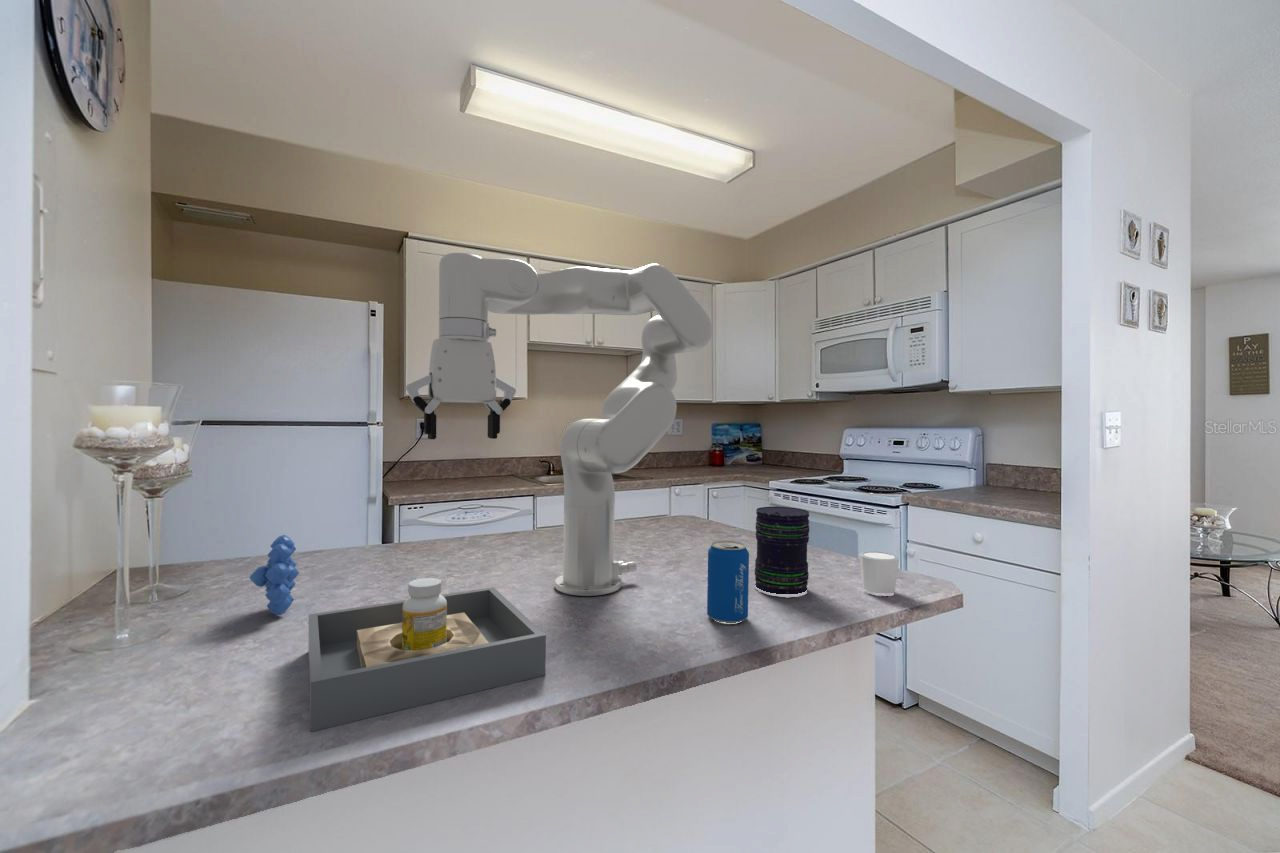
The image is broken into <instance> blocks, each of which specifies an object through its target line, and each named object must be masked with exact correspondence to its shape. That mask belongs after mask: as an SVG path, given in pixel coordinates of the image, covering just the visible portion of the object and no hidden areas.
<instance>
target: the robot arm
mask: <svg viewBox="0 0 1280 853" xmlns="http://www.w3.org/2000/svg"><path fill="white" fill-rule="evenodd" d="M438 270H439V271H438V338H436V339H433V341H432V344H431V345H432V346H431V351H430V358H429V368H428V375H426V376H424V377H422V378H419V379H417V380H415V381H413V382H411V383H408V384H407V385H405V390H406V391H407V394H408V396H409V397H410V399H411V402H412V403H413V404H414V405H415V406H416V407H417V408H418V409H419V410H420V411H421V412H422V413H423V432H424V435H427V439H428V440H436V439H437V414H436V413H435V409H437V408H438V407H439V405H440V404H441V403H455V404H458V403H462V404H466V403H467V404H469V403H470V404H480V403H481V404H484V406H486V408H487V409H488V410H489V413H488V415H487V438H488V439H493V440H494V439H495V440H496V439H498V434H500V432H501V415H502V414H503V412H504V411H506V409H507V408H508V407H509V406H510V405H511V403H512V402H511V401H512V400H513V399H514V397H515V395H516V393H517V390H516V388H515V387H513V386H511V385H509V384H507V383H506V382H504V381H503V380H500V379H499V378H497V372H496V362H495V356H494V350H493V345H492V342H490V341H488V340H489V338H491V337H493V338H495V337H496V336H497V329H496V328H492V327H490V323H488V322H489V320H488V318H489V316H488V313H494V314H499V315H501V314H502V315H582V314H583V315H584V314H585V315H612V316H613V315H614V316H638V315H642V314H647V313H651V312H654V311H655V312H656V313H657V314H658V315H655V316H652V318H650V319H649V320H648V321H647V322H645V325H644V327H643V329H642V332H641V347H642V348H641V349H642V357H641V362H640V363H639V365H638V366H637V367H636V368H635V369H634V370H633V371H632V372H631V373H630V374H629V375H628V376H627V377H626V378H625V379H624V380H622V381H621V383H620V384H619V385H617V386H616V387H615V388H614V389H613V390H612V391H611V392H610V393H609V394H608V395H607V397H606V398H605V400H604V401H603V403H602V404H603V405H602V409H601V415H602V417H603V418H582V419H579V420H575V421H574V422H572V423H571V424H569V425H568V426H567V427H566V428H565V430H564V431H563V433H562V436H561V439H560V446H559V447H560V448H559V449H560V450H559V451H560V452H559V453H560V459H561V466H562V473H563V491H564V492H563V493H564V494H563V495H564V496H563V499H564V500H563V548H562V549H563V551H562V555H563V556H562V557H563V560H562V563H563V564H562V567H563V568H562V575H560V576H558V577H556V578H555V580H554V588H555V590H557V591H558V592H560V593H563V594H566V595H571V596H579V597H580V596H581V597H594V596H604V595H608V594H609V595H610V594H612V593H615V592H616V591H618V590H619V589H621V588H622V585H623V584H622V583H623V581H622V578H621V577H620V576H622V575H623V573H634V572H636V571H637V564H636V562H635V561H629V562H624V561H623V560H618V561H617V560H615V507H616V506H615V505H616V502H615V501H616V492H615V484H614V478H613V476H612V474H622V473H625V472H627V471H629V470H631V469H632V468H633V467H635V466H636V465H637V464H638V463H639V462H640V461H641V460H642V459H643V458H644V457H645V456H646V455H647V454H648V453H649V452H650V450H651V449H652V448H653V447H655V445H656V444H657V443H658V442H659V441H660V440H661V439H662V438H663V437H664V436H665V434H667V432H668V431H669V429H670V428H671V427H672V425H673V423H674V421H675V418H676V414H677V408H678V407H677V406H678V405H677V400H676V396H675V395H674V392H673V390H674V389H675V386H676V384H677V379H678V371H677V364H676V363H677V361H676V354H682V353H683V354H684V353H692V352H696V351H700V350H701V349H703V348H705V347H706V346H707V345H708V343H709V342H710V340H711V338H712V333H713V326H712V325H713V324H712V322H711V319H710V317H709V314H708V313H707V311H706V310H705V309H704V307H703V306H702V305H701V304H700V302H698V300H697V299H696V298H695V297H694V296H693V295H692V294H693V293H692V294H691V292H690V291H689V290H688V288H687V287H686V286H685V285H684V284H683V282H682V281H681V280H680V279H679V277H677V276H676V275H675V274H674V273H673V272H672V271H671V270H669V269H668V268H667V267H665V266H664V265H661V264H658V263H650V264H646V265H645V266H641V267H639V268H636V269H632V270H624V269H623V270H621V269H611V268H601V267H592V266H573V267H568V268H564V269H563V268H562V269H560V270H555V271H550V272H545V273H544V272H543V273H537V271H536V269H534V267H533V266H532V265H531V264H529V263H527V262H525V261H523V260H520V259H515V258H494V257H493V258H491V257H489V258H488V257H481V256H479V255H476V254H472V253H468V252H451V253H447V254H445V255H443V256H442V257H441V258H440V261H439V266H438ZM425 386H427V394H428V398H429V400H427V402H426V401H425V400H424V399H423V398H422V397H421V395H420V393H419V390H420V388H421V389H422V388H423V387H425ZM497 389H498V390H500V391H502V392H503V394H504V395H503V397H502V399H501V400H500V401H499V402H497V400H496V398H497Z"/></svg>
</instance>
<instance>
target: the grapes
mask: <svg viewBox="0 0 1280 853" xmlns="http://www.w3.org/2000/svg"><path fill="white" fill-rule="evenodd" d="M270 548H271V550H269V553H268V554H267V557H268V558H269V559H268V560H267V562H266V563H267V564H266V565H261V566H258V567H257V568H256V569H255V570H254V571H253V572H252V574H250V576H249V579H250V581H251V582H252V583H253V584H254V585H256V586H257V587H260V588H262V587H265V592H266V593H265V594H264V596H265V597H266V598H267V600H268V601H269V602H268V604H266V607H267V608H268V611H270V612H271V613H272V614H274V615H275V616H281V615H283V614H285V612H287V610H288V609H289V608H290V607H291V605H292V604H293V601H295V599H294V597H293V596H292V595H291V591H292V590H293V589H294V587H295V586H296V585H297V584H296V582H295V581H294V580H295V579H296V578H297V576H299V574H300V572H299V571H298V569H297V568H296V567H297V562H296V561H295V560H294V559H293V558H292V557H291V556H292V555H293V554H294V553H295V551H296V550H297V548H296V546H295V543H294V541H293V540H292V539H291V538H290V537H289V536H288V535H285V534H283V535H279V536H278V537H277V538H276V539H275V540H274V541H273V542H272V543H271V545H270Z"/></svg>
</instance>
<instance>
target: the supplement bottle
mask: <svg viewBox="0 0 1280 853" xmlns="http://www.w3.org/2000/svg"><path fill="white" fill-rule="evenodd" d="M407 589H408V590H407V594H408V595H409V597H408V598H406V599H405V600H406V601H405V602H404V604H403V625H402V626H403V628H402V633H403V635H402V650H424V649H429V648H434V647H438V646H440V645H442V644H445V643H446V636H447V601H446V599H445V597H444V596H442V595H443V594H441V593H442V590H443V585H442V580H441V579H439V578H436V577H435V578H433V577H425V578H418V579H414V580H412V581H410V582H408V587H407Z"/></svg>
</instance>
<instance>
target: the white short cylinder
mask: <svg viewBox="0 0 1280 853" xmlns="http://www.w3.org/2000/svg"><path fill="white" fill-rule="evenodd" d="M899 561H900V558H899V556H897V555H896V554H892V553H888V552H883V551H882V552H881V551H863V552H860V553H859V566H860V579H861V589H862V588H863V589H865V590H867V591H870V592H875V593H893V592H895V593H896V587H897V586H896V585H897V578H898V571H899V570H898V569H899V563H900V562H899Z"/></svg>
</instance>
